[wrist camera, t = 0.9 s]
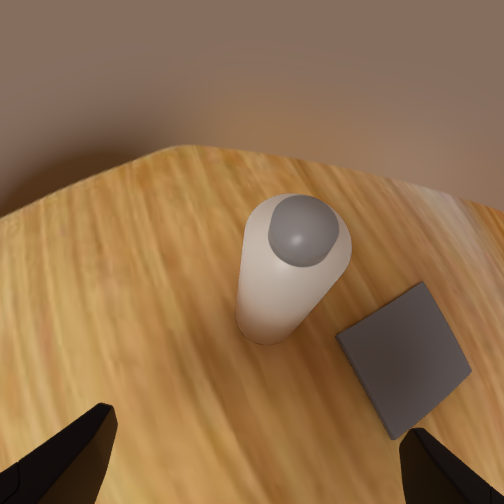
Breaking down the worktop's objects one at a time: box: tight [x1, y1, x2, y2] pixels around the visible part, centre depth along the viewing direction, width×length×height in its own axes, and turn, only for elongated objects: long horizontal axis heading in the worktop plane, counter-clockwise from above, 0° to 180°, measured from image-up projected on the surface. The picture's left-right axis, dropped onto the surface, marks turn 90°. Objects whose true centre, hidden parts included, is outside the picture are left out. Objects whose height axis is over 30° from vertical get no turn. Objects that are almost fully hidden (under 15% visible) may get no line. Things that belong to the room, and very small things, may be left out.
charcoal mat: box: [335, 281, 472, 440], centre depth 23 cm, size 10×10×1 cm
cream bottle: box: [235, 193, 352, 345], centre depth 19 cm, size 5×5×13 cm
